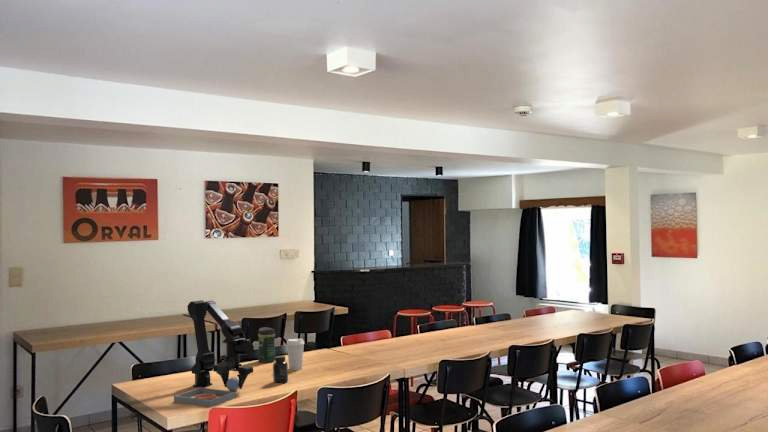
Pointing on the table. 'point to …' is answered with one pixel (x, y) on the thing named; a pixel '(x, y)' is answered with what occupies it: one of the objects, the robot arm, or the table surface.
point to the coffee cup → (295, 353)
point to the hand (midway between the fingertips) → (233, 388)
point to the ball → (233, 384)
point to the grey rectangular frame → (205, 397)
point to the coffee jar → (266, 344)
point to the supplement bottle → (280, 370)
